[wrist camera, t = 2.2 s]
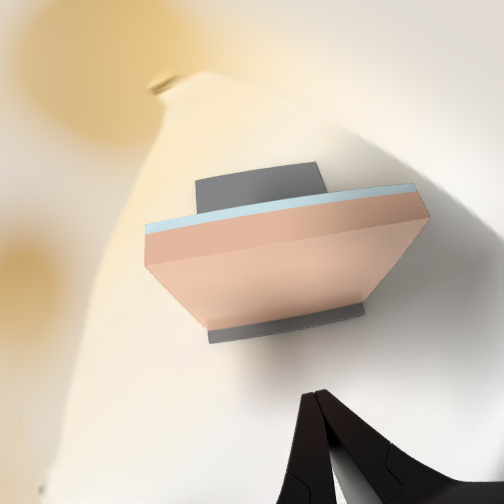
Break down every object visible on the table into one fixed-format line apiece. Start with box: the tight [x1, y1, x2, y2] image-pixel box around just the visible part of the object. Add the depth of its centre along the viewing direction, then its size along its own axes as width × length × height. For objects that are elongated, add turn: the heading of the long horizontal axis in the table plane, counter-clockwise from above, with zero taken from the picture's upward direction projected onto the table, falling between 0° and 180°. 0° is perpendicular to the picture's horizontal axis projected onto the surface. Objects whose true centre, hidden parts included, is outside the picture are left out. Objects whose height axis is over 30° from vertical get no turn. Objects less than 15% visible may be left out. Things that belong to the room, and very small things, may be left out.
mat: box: [195, 162, 365, 344], centre depth 21 cm, size 13×10×1 cm
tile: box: [144, 183, 430, 331], centre depth 14 cm, size 2×10×10 cm, turn 99°
